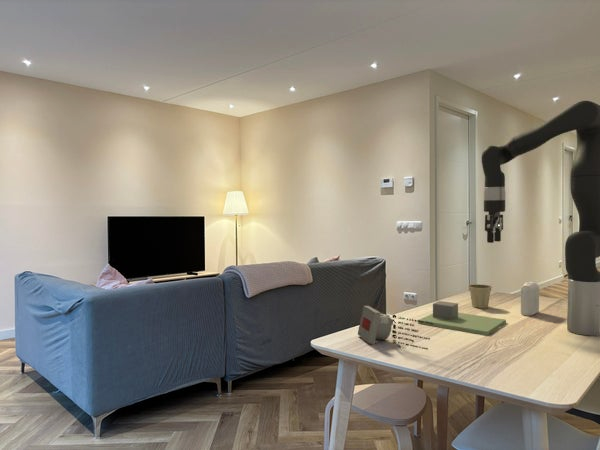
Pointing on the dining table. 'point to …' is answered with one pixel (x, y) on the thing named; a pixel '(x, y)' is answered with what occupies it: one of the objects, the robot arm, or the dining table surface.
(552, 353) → the dining table surface
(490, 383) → the dining table surface
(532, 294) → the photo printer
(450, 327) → the board
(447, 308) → the block
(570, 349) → the dining table surface
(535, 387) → the dining table surface
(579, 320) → the robot arm
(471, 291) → the flower pot
